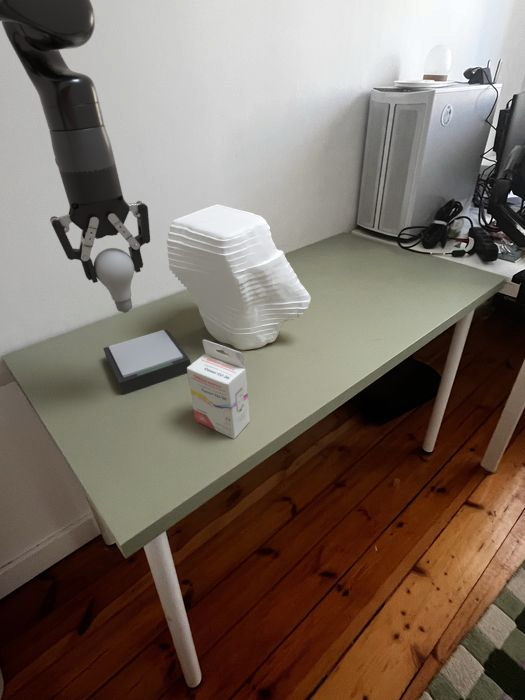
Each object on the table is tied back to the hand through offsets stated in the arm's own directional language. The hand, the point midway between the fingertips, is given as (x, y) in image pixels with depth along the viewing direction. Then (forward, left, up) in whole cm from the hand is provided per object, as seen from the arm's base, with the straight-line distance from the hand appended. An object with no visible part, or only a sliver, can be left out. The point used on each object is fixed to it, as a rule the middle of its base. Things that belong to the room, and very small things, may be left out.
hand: (116, 275), depth 69 cm
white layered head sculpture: (+24, +9, -24) cm, 35 cm away
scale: (+3, +9, -24) cm, 26 cm away
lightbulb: (0, 0, -7) cm, 7 cm away
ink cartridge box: (+9, -15, -24) cm, 30 cm away
